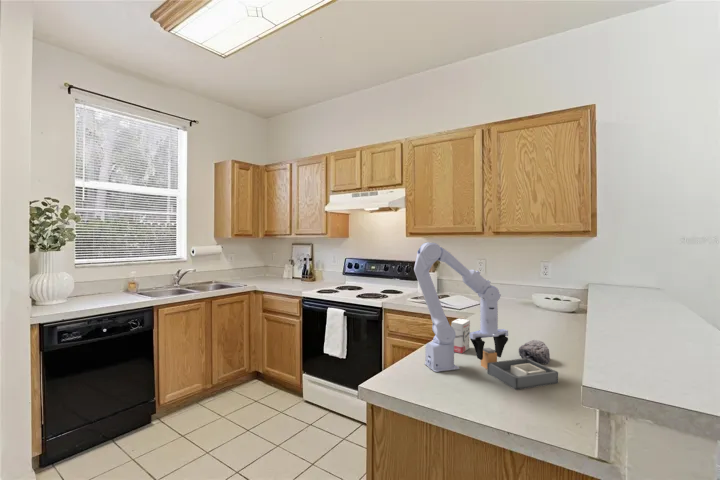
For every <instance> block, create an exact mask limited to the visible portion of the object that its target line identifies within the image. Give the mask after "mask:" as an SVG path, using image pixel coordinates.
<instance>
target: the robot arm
mask: <svg viewBox="0 0 720 480" xmlns="http://www.w3.org/2000/svg"><path fill="white" fill-rule="evenodd" d="M437 261H438V262H440V263H441V262H442V263H445V264H446V265H447V266H449V267H450V268H451V269H452V270H453V271H455V272H456V273H458V274H459V275H460V276H461V277H462V282H463V283H464V285H466V286H467V287H468V288H470V289H471V290H472V291H473V292H474V293H476V294H477V296H478V298H480V306H479V307H480V308H479V309H480V310H479V314H480V317H479V319H480V320H479V321H480V322H479V323H480V328H479V330H475V331H471V332H470V337H469V341H471V343H472V346H473V348H474V350H475V353H476V357H477V359H479V360H480V361H481V360H482V359H483V348H485V343H486V341H485V340H483V339H484V338H493V342H494V343H493V344H494V350H495V352H496V353H497V358H502V354H503V351H504V349H505V346H506V344H507V343H508V341H509V337H508V336H509V330H508V329H504V328H503V329H502V328H499V326H498V325H499V324H498V322H499V317H498V316H499V315H498V313H499V312H498V311H499V306H498V305H499V304H498V302H499V300H500V299H501V296H502V294H501V293H500V291H499V289H498V287H496V286H495V285H491V281H490V280H489V279H488V280H487V279H486V278H484V276H482V275H481V272H480V271H479V270H475V269H469V268H467V267H466V266H465V265H464V264H463V263H462V262H461V261H459V259H457V257H455V256H454V255H453V254H451V252H449V251H448V250H447V249H446V248H443V247H442V246H440V245H439V243H436V242H430V241H428V242H424V243H422V244H421V245H420V247H419V248H418V250H417V252H416V258H415V263H414V267H413V271H414V275H415V276H416V280H417V282H418V285H419V288H420V290H421V293H422V295H423V298H424V302H425V304H426V306H427V307H426V308H427V309H428V312H429V314H430V319H431V323H432V325H431V326H432V327H431V328H432V329H431V330H432V332H433V334H434V336H433V338H432V341H431V342H427V343H426V345H425V361H424V365H425V366H427V367H428V368H429V369H431V370H432V371H433V372H435V373H437V372H446V371H454V370H455V371H456V370H459V369H460V367H459V366H458V365H456V364H455V352H454V339H455V336H456V333H455V330H454V329H453V328H452V327H451V324H450V322H449V321H448V318H447V316H446V315H445V312H444V309H443V306H442V304H441V300H440V298H439V295H438V293H437V290H436V287H435V285H434V283H433V280H432V277H431V274H430V270H431V268H433V267H432V266H433V265H434V264H435V263H436V262H437Z"/></svg>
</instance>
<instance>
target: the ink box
mask: <svg viewBox="0 0 720 480" xmlns="http://www.w3.org/2000/svg"><path fill="white" fill-rule="evenodd" d="M450 326H451V327H452V328H453V329H454V330H455V333H456V336H455V339H454V353H456V354H457V353H458V354H463V353H465V352H466V351H467V350H469V349H470V331H471V330H470V329H471V320H469V319H466V318H456V319H454V320H453V321H451V324H450Z"/></svg>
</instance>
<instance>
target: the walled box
mask: <svg viewBox="0 0 720 480" xmlns="http://www.w3.org/2000/svg"><path fill="white" fill-rule="evenodd" d="M487 374H488V375H490V376H491V377H493V378H495V379H497V380H498V381H500V382H502V383H504V384H505V385H507V386H509V387H510V388H512V389H513V390H515V391H517V390H523V389H529V388H537V387H543V386H550V385H555V384H559V371H557V370H555V369H552V368H550V367H548V366H545V365H544V364H540V363H537V362H534V361H532V360H530V359H528V358H523V359H522V358H515V359H508V360H501V361H497V362H490V363H488V369H487Z"/></svg>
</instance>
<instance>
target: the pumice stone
mask: <svg viewBox="0 0 720 480" xmlns="http://www.w3.org/2000/svg"><path fill="white" fill-rule="evenodd" d="M518 354H519V356H520V359H523V358H528V359H530V360H532V361H534V362H537V363H539V364H541V365H548V364H549V363H550V361H551V358H550V357H551V356H550V349H549V348H548V346H547V345H546V343H545V342H544V341H541V340H537V339H536V340H535V339H533V340H529V341H527V342H525V343H524V344H521V345H519V347H518Z"/></svg>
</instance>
